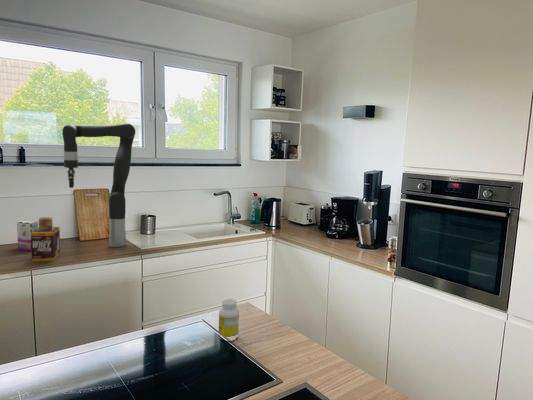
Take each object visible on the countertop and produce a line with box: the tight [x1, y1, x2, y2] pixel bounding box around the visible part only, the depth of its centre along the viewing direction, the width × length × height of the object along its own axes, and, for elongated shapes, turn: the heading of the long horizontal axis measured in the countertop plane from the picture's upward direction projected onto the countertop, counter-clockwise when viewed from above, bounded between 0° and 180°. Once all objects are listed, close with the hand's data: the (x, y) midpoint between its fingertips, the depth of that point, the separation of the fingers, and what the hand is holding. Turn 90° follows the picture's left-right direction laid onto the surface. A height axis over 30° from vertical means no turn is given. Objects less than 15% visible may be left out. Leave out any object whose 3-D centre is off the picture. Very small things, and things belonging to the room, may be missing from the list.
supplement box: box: [31, 226, 61, 263], centre depth 214 cm, size 10×15×16 cm
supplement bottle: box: [218, 298, 240, 337], centre depth 133 cm, size 7×7×13 cm
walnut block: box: [38, 216, 54, 231], centre depth 213 cm, size 6×6×6 cm
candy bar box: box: [16, 219, 39, 252], centre depth 228 cm, size 11×5×16 cm, turn 70°
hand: (71, 186), depth 235 cm, fingers open, 8 cm apart
